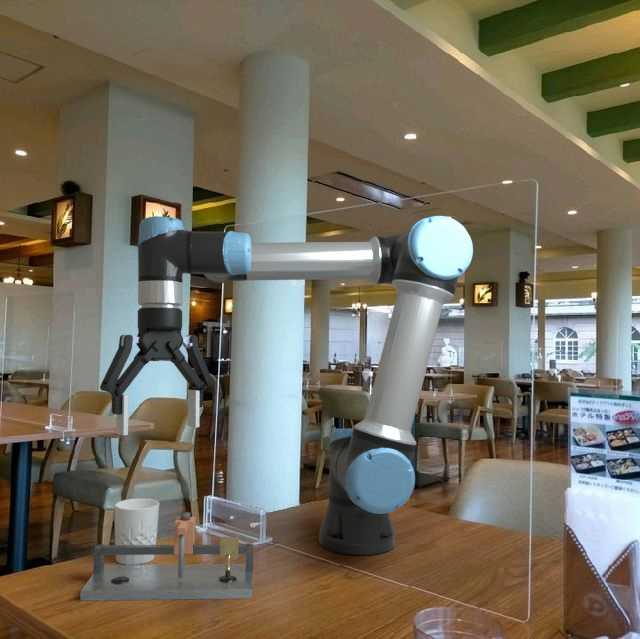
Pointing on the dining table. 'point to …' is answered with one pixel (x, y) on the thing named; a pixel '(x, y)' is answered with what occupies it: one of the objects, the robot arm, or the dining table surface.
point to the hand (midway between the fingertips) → (159, 430)
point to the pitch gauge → (171, 574)
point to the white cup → (136, 527)
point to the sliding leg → (184, 538)
